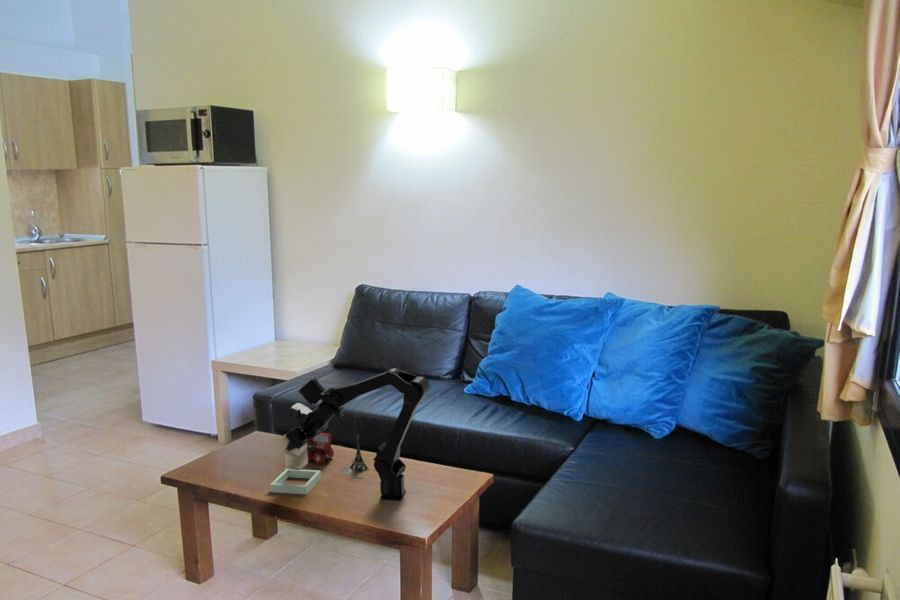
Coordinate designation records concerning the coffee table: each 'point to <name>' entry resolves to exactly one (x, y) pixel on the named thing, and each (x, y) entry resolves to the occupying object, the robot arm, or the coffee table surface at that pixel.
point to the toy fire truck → (320, 448)
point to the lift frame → (295, 489)
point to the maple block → (295, 456)
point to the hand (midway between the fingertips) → (291, 446)
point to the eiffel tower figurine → (357, 462)
